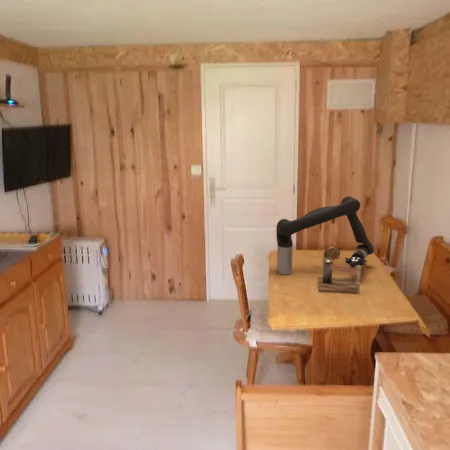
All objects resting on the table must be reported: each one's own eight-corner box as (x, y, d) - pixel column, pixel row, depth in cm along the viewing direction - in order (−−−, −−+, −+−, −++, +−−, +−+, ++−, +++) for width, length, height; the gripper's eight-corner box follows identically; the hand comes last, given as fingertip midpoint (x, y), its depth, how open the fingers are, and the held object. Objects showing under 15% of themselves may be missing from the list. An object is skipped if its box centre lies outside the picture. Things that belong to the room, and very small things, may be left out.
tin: (326, 262, 303) (326, 250, 301) (322, 261, 305) (323, 249, 303) (340, 257, 312) (341, 245, 310) (336, 256, 314) (337, 244, 312)
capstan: (319, 281, 264) (320, 260, 261) (325, 278, 268) (326, 257, 265) (352, 290, 251) (353, 267, 248) (357, 286, 255) (358, 264, 252)
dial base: (317, 279, 273) (318, 253, 269) (356, 280, 269) (357, 255, 266) (318, 291, 254) (319, 264, 250) (360, 293, 250) (361, 266, 246)
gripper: (348, 249, 278) (340, 257, 263) (370, 252, 271) (364, 260, 257) (347, 261, 279) (340, 270, 264) (369, 264, 273) (363, 273, 258)
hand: (352, 265), depth 261 cm, fingers closed
